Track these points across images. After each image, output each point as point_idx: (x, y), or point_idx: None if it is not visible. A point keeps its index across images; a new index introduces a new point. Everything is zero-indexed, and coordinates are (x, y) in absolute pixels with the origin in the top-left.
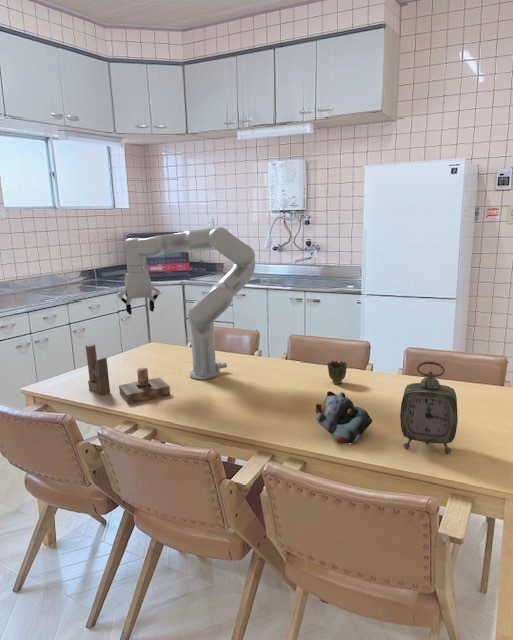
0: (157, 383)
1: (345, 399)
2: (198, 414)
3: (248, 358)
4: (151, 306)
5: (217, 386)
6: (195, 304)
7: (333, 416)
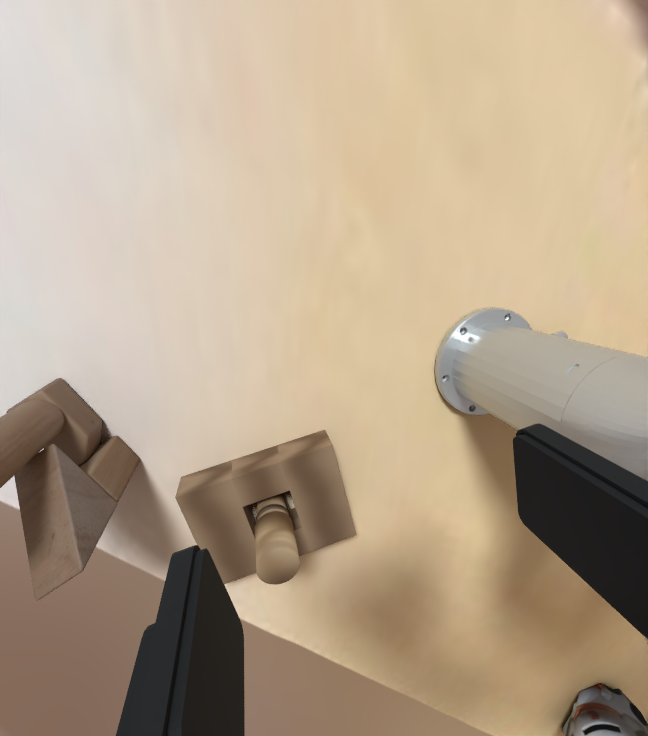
0: (320, 504)
1: None
2: (396, 633)
3: None
4: (583, 578)
5: (484, 474)
6: None
7: None
